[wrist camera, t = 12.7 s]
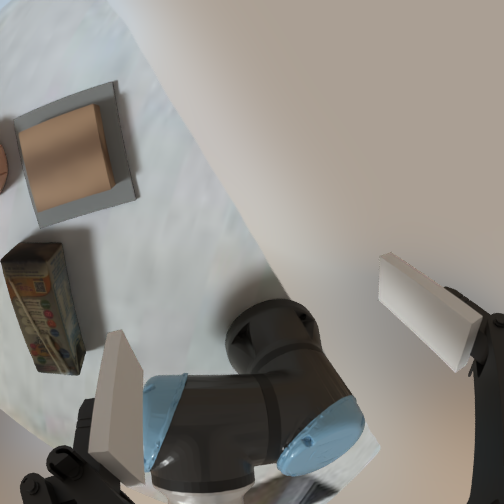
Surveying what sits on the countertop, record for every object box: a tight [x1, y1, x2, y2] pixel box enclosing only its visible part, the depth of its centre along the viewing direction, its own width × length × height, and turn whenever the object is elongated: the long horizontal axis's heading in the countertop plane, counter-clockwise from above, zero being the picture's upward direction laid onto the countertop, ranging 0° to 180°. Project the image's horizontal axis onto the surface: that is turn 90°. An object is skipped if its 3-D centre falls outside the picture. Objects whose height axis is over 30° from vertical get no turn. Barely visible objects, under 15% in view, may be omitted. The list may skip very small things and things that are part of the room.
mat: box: [14, 82, 136, 229], centre depth 31 cm, size 15×14×1 cm
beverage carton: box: [0, 243, 86, 376], centre depth 35 cm, size 8×19×7 cm, turn 176°
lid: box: [19, 104, 116, 213], centre depth 30 cm, size 10×10×3 cm
